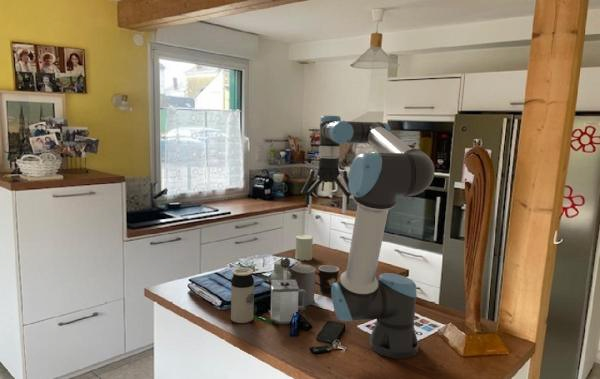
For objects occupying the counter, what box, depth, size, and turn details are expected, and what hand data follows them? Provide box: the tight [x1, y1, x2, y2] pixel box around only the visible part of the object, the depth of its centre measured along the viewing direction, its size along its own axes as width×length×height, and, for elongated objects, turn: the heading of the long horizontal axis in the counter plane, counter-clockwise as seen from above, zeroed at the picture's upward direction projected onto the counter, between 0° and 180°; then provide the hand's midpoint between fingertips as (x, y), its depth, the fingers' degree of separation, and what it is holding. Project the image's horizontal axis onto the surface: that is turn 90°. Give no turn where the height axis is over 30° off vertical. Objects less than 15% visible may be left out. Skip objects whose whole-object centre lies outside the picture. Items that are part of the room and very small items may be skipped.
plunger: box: [280, 257, 291, 286], centre depth 153 cm, size 7×7×18 cm
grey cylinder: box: [290, 264, 316, 307], centre depth 170 cm, size 10×10×15 cm
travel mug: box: [230, 267, 255, 324], centre depth 153 cm, size 8×8×18 cm
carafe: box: [269, 279, 306, 326], centre depth 155 cm, size 10×13×13 cm
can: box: [294, 234, 314, 262], centre depth 227 cm, size 9×9×12 cm
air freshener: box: [270, 260, 291, 283], centre depth 188 cm, size 11×8×10 cm
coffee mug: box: [315, 264, 340, 295], centre depth 182 cm, size 12×9×10 cm
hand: (326, 213), depth 163 cm, fingers open, 13 cm apart
